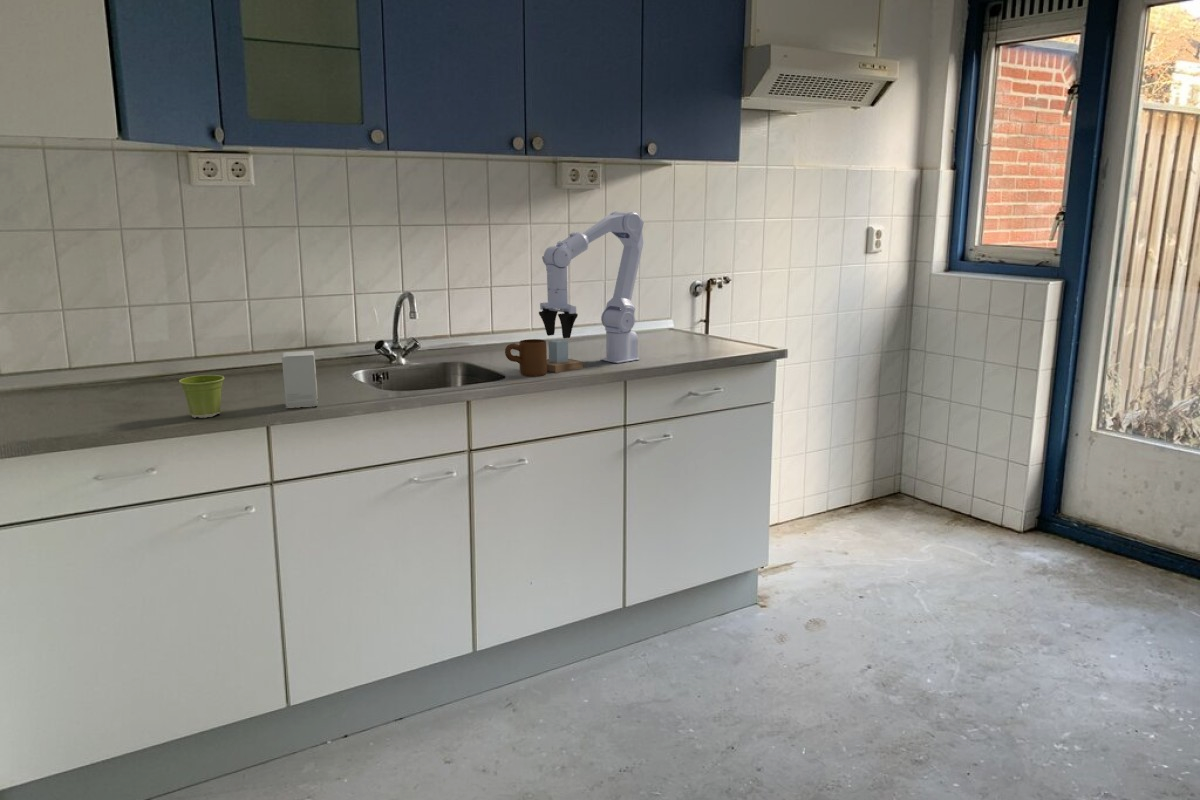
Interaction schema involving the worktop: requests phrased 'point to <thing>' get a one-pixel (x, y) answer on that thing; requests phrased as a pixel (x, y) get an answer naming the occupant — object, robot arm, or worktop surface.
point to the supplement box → (299, 378)
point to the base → (564, 365)
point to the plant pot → (203, 393)
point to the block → (558, 351)
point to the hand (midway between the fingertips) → (558, 336)
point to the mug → (529, 356)
